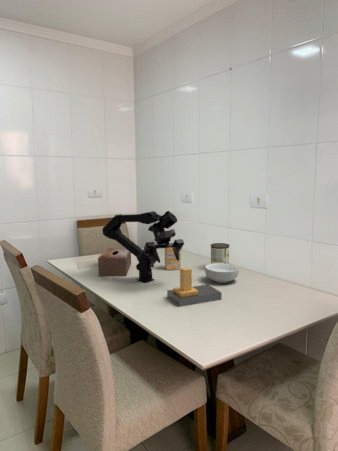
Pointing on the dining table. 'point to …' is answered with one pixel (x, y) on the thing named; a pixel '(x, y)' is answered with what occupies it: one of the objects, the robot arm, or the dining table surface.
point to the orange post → (185, 284)
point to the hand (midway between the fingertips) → (169, 261)
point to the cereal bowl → (221, 272)
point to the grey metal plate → (196, 296)
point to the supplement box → (172, 259)
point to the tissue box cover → (114, 262)
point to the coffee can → (220, 253)
